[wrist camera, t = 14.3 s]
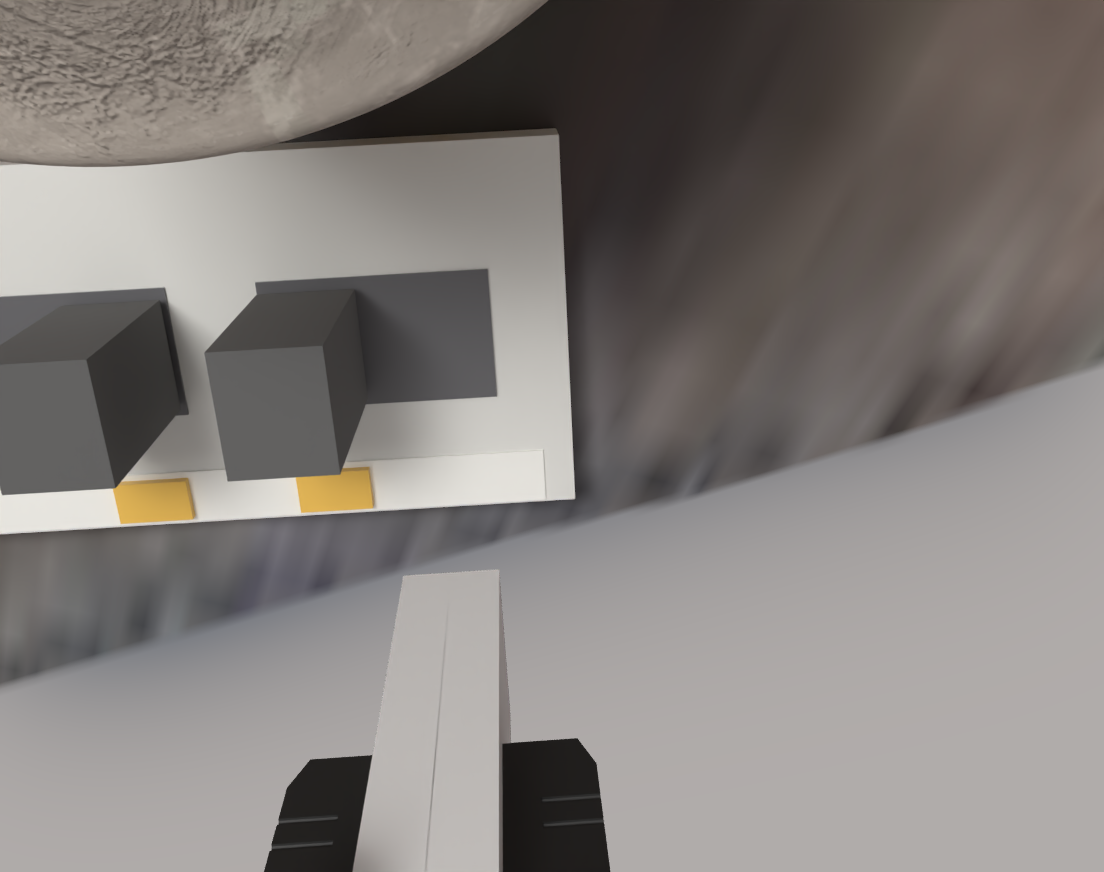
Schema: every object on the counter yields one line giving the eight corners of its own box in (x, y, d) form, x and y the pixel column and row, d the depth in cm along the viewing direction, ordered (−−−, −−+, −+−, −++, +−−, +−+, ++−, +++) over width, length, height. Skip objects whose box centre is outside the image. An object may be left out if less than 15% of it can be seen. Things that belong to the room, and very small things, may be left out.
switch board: (-333, 530, 37) (-388, 563, 35) (-476, 184, 32) (-548, 197, 30) (571, 475, 37) (576, 503, 35) (555, 128, 33) (559, 136, 31)
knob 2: (86, 415, 33) (1, 495, 28) (61, 305, 32) (-33, 366, 26) (180, 409, 33) (115, 488, 28) (159, 300, 32) (86, 359, 26)
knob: (274, 404, 33) (227, 481, 28) (257, 294, 32) (204, 352, 26) (367, 398, 33) (340, 474, 28) (354, 288, 32) (322, 346, 27)
